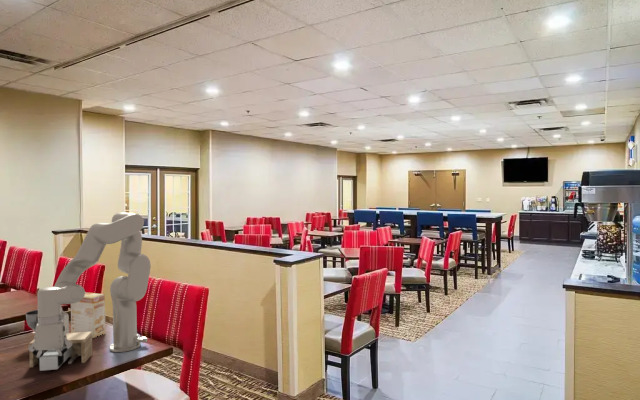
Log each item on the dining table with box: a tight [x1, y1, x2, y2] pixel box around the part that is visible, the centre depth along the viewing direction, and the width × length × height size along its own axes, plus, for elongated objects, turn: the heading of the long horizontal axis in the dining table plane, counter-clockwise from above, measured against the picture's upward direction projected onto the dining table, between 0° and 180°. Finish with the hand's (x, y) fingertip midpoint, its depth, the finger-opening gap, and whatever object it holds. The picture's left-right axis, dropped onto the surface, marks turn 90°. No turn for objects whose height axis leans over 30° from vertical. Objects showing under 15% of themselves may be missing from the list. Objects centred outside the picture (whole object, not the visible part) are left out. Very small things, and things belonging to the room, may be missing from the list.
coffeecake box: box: [70, 291, 106, 339], centre depth 201 cm, size 15×7×20 cm, turn 69°
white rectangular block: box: [39, 343, 73, 372], centre depth 166 cm, size 6×16×5 cm, turn 12°
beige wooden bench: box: [28, 332, 93, 368], centre depth 171 cm, size 20×9×10 cm, turn 102°
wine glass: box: [25, 309, 38, 348], centre depth 188 cm, size 8×8×15 cm
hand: (51, 365), depth 161 cm, fingers closed on white rectangular block, 5 cm apart
